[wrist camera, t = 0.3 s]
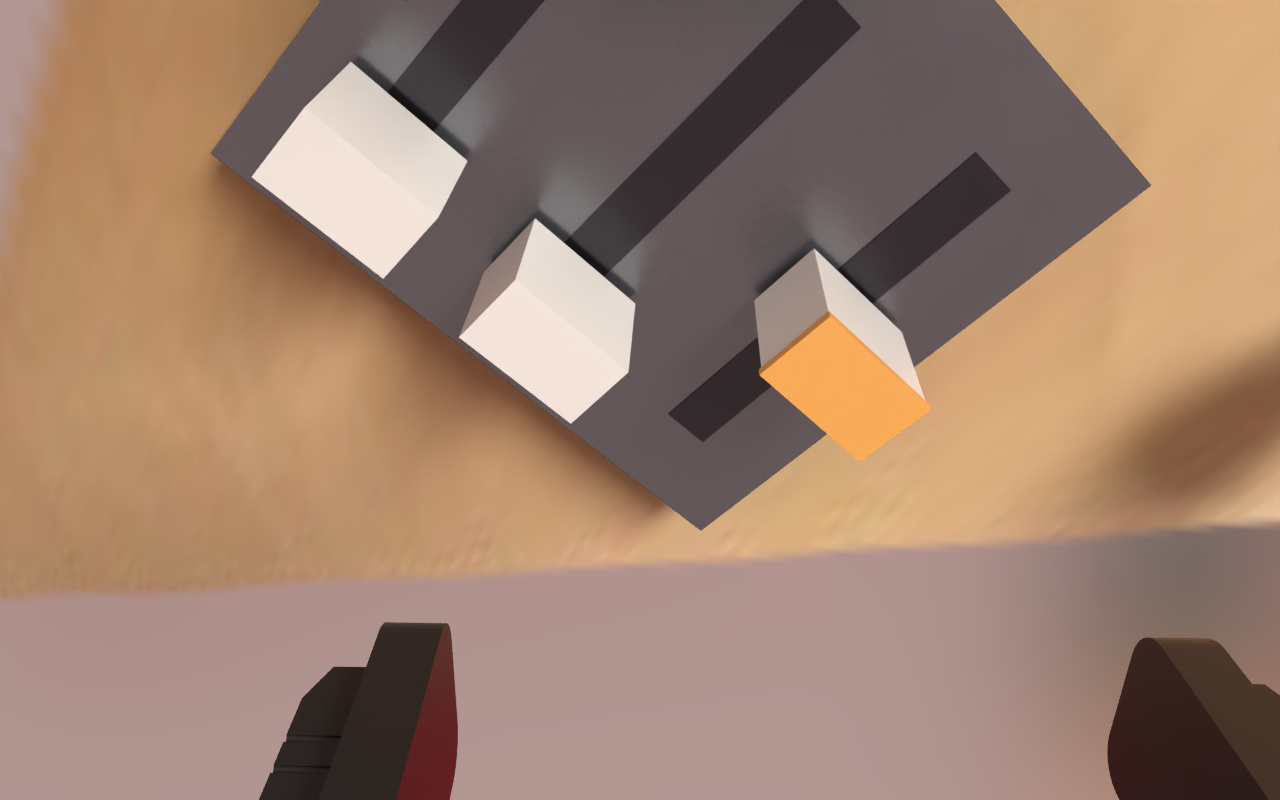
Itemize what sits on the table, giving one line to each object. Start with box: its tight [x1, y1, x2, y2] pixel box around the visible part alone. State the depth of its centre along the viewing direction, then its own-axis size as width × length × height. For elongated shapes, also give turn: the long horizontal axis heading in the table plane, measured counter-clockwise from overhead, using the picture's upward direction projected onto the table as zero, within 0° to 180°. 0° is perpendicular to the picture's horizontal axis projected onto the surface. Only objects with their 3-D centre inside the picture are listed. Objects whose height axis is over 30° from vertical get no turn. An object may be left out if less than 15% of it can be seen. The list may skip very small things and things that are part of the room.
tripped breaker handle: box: [754, 249, 931, 462], centre depth 30 cm, size 2×4×4 cm, turn 47°
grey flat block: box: [211, 0, 1151, 530], centre depth 31 cm, size 18×20×3 cm
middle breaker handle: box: [459, 219, 635, 424], centre depth 30 cm, size 2×4×4 cm, turn 47°
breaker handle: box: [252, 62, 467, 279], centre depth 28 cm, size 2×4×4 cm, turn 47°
